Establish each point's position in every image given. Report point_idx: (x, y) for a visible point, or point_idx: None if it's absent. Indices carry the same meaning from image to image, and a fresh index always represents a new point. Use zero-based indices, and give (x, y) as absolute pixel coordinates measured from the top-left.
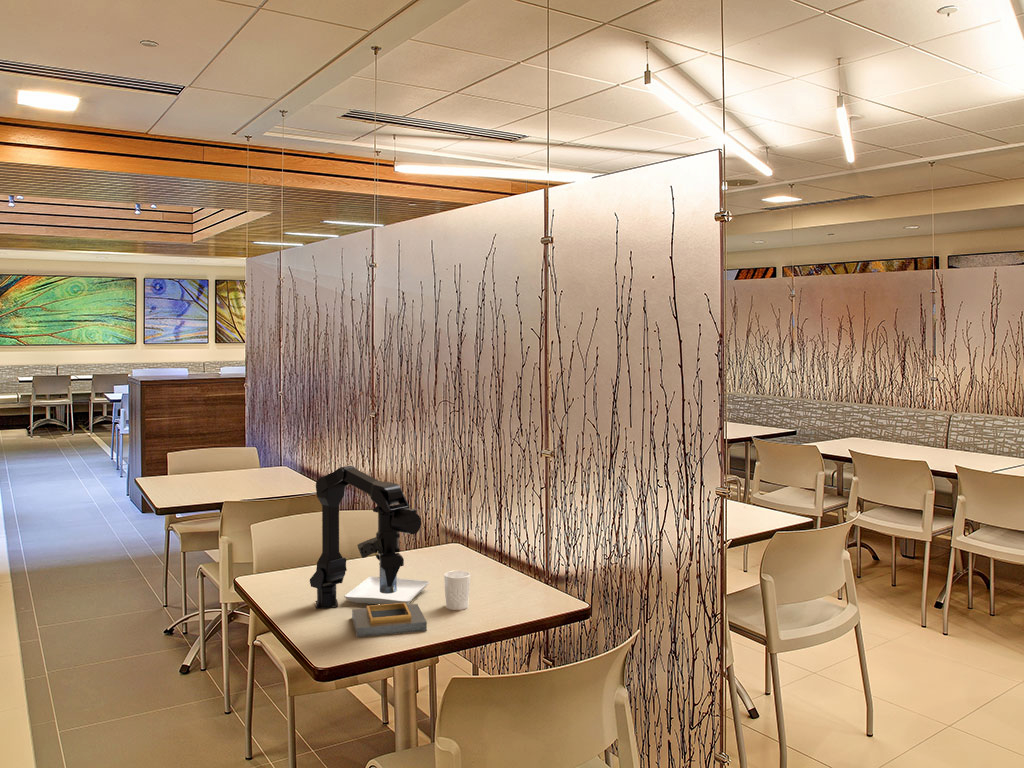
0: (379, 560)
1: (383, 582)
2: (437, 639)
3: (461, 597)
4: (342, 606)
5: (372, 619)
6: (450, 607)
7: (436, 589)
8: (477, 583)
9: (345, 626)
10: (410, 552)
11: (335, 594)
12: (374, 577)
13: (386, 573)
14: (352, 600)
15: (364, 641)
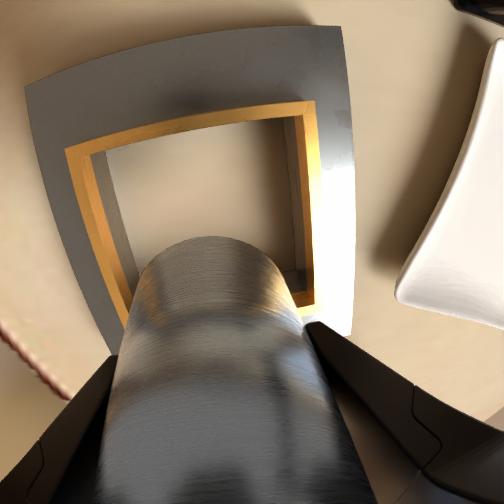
0: (476, 502)
1: (122, 346)
2: (62, 372)
3: None
4: (462, 27)
5: (68, 158)
6: None
7: (490, 331)
8: (471, 396)
9: (202, 5)
10: None
11: (501, 3)
12: None
13: (20, 474)
14: (484, 66)
15: (6, 132)
